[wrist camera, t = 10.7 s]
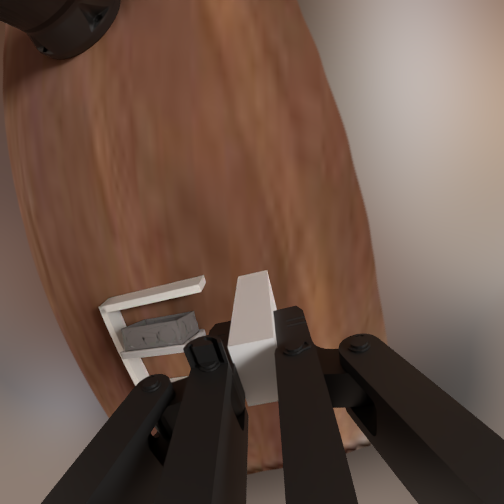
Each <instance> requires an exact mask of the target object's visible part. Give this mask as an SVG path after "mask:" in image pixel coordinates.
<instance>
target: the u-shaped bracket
mask: <svg viewBox="0 0 504 504" xmlns="http://www.w3.org/2000/svg"><path fill="white" fill-rule="evenodd" d="M205 283H206V281H205V278H204V275H203V276H199V277H194V278H190V279H186V280H182V281H178V282H174V283H170V284H166V285H161V286H157V287H153V288H149V289H145V290H141V291H136V292H132V293H128V294H124V295H120V296H115V297H111V298H108V299H107V300H106V301H105V302H104V303H103V304H102V305H101V306H99V310H100V312H101V315H102V317H103V319H104V322H105V324H106V326H107V329H108V331H109V333H110V335H111V337H112V340H113V342H114V344H115V346H116V348H117V350H118V352H119V354H120V352H122V351H124V350H125V347H124V343H123V336H122V332H121V329H122V328H125V327H127V326H126V324H125V322H124V319H123V317H122V315H121V312H120V310H122V309H127V308H131V307H136V306H141V305H145V304H150V303H154V302H159V301H163V300H168V299H172V298H177V297H181V296H185V295H190V294H194V293H198V292H201V291H202V289H203V287H204V285H205ZM120 357H121V354H120ZM121 359H122V357H121ZM122 361H123V363H124V365H125V367H126V369H127V371H128V373H129V374H130V376H131V378H132V380H133V382H134V384H135V386H136V385H137V384H138V383H139V382H140V381H141V380H143V379H144V378H146V377H148V376H149V374H148V372H147V370H146V368H145V366H144V364H143V362H142V360H141V358H131V359H122ZM186 377H188V376H185V377H178V378H171V379H170V381H171V382H174V381H177V380H180V379H183V378H186Z"/></svg>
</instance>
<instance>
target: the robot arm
mask: <svg viewBox="0 0 504 504" xmlns="http://www.w3.org/2000/svg"><path fill="white" fill-rule="evenodd" d="M119 6H120V0H0V21H2V22H4V23H7V24H9V25H11V26H13V27H16V28H18V29H20V30H22V31H24V32H26V33H27V35H28V36H29V38H30V39H31V41H32V42H33V44H34V45H35V46H36V48H37V49H38V50H39V51H40V52H41V53H42V54H44V55H46V56H49V57H51V58H53V59H66V58H70V57H73V56H76V55H78V54H80V53H82V52H83V51H85V50H86V49H88V48H89V47H91V46H92V45H93V44H94V43H96V42H97V41H98V40H99V39H100V38H101V37H102V36H103V35H104V34H105V32H106V31H107V30H108V29H109V27H110V26H111V24H112V23H113V21H114V19H115V17H116V15H117V13H118V10H119ZM183 350H184V353H185V355H186V357H187V360H188V362H189V365H190V367H191V371H190V374H189V376H188V377H186V378H183V379H180V380H177V381H174V382H171V381H170V379H169V377H167V376H166V375H163V374H155V375H151V376H148V377H146V378H144V379H143V380H141V381H140V382H139V383H138V384H137V385H136V386H135V387H134V389H133V390H132V391H131V392H130V394H129V395H128V396H127V397H126V398H125V400H124V401H123V402H122V403H121V405H120V406H119V407H118V408H117V410H116V411H115V412H114V413H113V414H112V416H111V417H110V418H109V419H108V421H107V422H106V423H105V424H104V426H103V427H102V428H101V429H100V431H99V432H98V433H97V434H96V436H95V437H94V438H93V439H92V440H91V442H90V443H89V444H88V446H87V447H86V448H85V449H84V451H83V452H82V453H81V454H80V455H79V457H78V458H77V459H76V460H75V462H74V463H73V464H72V465H71V467H70V468H69V469H68V470H67V472H66V473H65V474H64V475H63V477H62V478H61V479H60V480H59V482H58V483H57V484H56V485H55V487H54V488H53V489H52V490H51V492H50V493H49V494H48V495H47V497H46V498H45V499H44V500H43V502H42V503H41V504H246V487H247V486H246V485H247V450H248V413H247V410H246V407H245V398H246V400H247V403H248V406H253V405H259V404H265V403H270V402H276V401H278V403H279V416H280V429H281V442H282V455H283V469H284V483H285V498H286V504H358V502H357V497H356V493H355V489H354V485H353V481H352V477H351V473H350V470H349V466H348V462H347V458H346V454H345V450H344V447H343V443H342V439H341V435H340V432H339V428H338V425H337V421H336V417H335V414H334V410H333V408H340V407H345V408H346V411H347V412H348V414H349V415H350V416H351V418H352V419H353V420H354V422H355V423H356V424H357V426H358V427H359V428H360V429H361V431H362V432H363V433H364V435H365V436H366V437H367V439H368V440H369V441H370V442H371V444H372V445H373V446H374V448H375V449H376V450H377V451H378V453H379V454H380V455H381V457H382V458H383V459H384V460H385V462H386V463H387V464H388V466H389V467H390V468H391V469H392V471H393V472H394V473H395V475H396V476H397V477H398V478H399V480H400V481H401V482H402V483H403V485H404V486H405V487H406V489H407V490H408V491H409V492H410V494H411V495H412V496H413V497H414V499H415V500H416V501H417V502H418V504H504V440H503V439H502V438H501V437H500V436H499V435H497V434H496V433H495V432H494V431H493V430H491V429H490V428H489V427H488V426H486V425H485V424H484V423H483V422H482V421H480V420H479V419H478V418H476V417H475V416H474V415H473V414H472V413H471V412H469V411H468V410H467V409H466V408H464V407H463V406H462V405H461V404H459V403H458V402H457V401H456V400H454V399H453V398H452V397H451V396H450V395H448V394H447V393H446V392H445V391H443V390H442V389H441V388H440V387H438V386H437V385H436V384H435V383H433V382H432V381H431V380H430V379H429V378H427V377H426V376H425V375H424V374H422V373H421V372H420V371H419V370H417V369H416V368H415V367H414V366H412V365H411V364H410V363H409V362H407V361H406V360H405V359H403V358H402V357H401V356H400V355H399V354H397V353H396V352H395V351H394V350H392V349H391V348H390V347H389V346H387V345H386V344H385V343H384V342H382V341H381V340H380V339H379V338H377V337H375V336H373V335H370V334H356V335H353V336H349V337H348V338H346V339H344V340H343V341H342V342H341V343H340V344H339V349H324V348H320V347H317V346H316V345H315V344H314V343H313V342H312V339H311V336H310V333H309V329H308V326H307V323H306V320H305V316H304V313H303V310H302V309H300V308H299V307H297V306H293V307H289V308H284V309H280V310H277V309H276V305H275V301H274V297H273V293H272V289H271V285H270V280H269V276H268V272H267V270H265V271H261V272H257V273H252V274H248V275H243V276H239V277H238V281H237V287H236V294H235V300H234V307H233V314H232V320H231V321H228V322H223V323H218V324H215V325H214V327H213V328H212V329H211V330H210V332H209V335H205V336H201V337H198V338H195V339H193V340H191V341H190V342H189V343H187V344H186V345H185V347H184V348H183ZM154 427H155V428H156V429H157V433H156V434H155V435H154V436H152V434H151V431H152V430H153V428H154Z"/></svg>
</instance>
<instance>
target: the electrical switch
mask: <svg viewBox="0 0 504 504" xmlns="http://www.w3.org/2000/svg"><path fill="white" fill-rule="evenodd" d="M180 316H181V317H180ZM162 321H163V322H162ZM146 324H147V325H146ZM121 332H122V336H123V343H124V347H125V350H124V351H122V352H120V354H121V357H122V359H131V358H141V357H150V356H158V355H166V354H174V353H182V352H184V350H183V348H184V347H185V345H186V344H187V343H189V342H190V341H191V340H193V339H195V338H198V337H201V336H205V335H206V334H205V330H204V329H200V330H199V328H198V323H197V321H196V318H195V313H194V311H192V312H187V313H181V314H175V315H170V316H164V317H158V318H152V319H146V321H145V320H142V321H140V322H137V323H135V324H132V325H130V326H127V327H125V328H122V329H121Z"/></svg>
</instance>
